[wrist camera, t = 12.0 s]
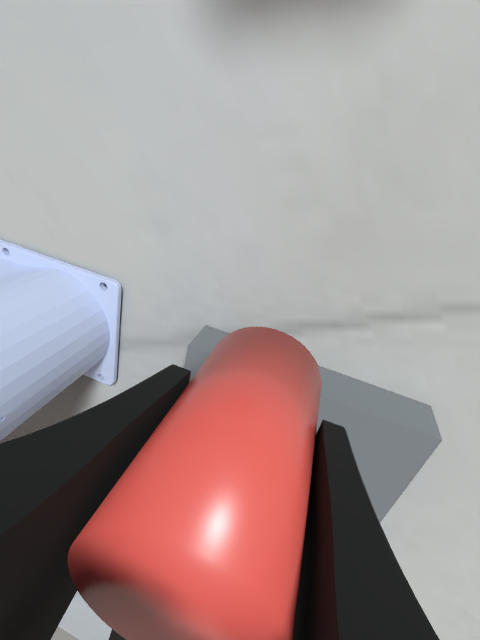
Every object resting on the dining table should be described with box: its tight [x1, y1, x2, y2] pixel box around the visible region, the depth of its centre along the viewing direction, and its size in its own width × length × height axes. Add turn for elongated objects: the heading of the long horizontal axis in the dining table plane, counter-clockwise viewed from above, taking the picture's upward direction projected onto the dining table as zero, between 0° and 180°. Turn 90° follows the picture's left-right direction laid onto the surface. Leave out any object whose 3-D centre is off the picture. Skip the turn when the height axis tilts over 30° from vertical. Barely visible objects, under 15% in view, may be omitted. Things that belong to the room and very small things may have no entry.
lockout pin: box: [68, 327, 322, 640], centre depth 9 cm, size 4×4×7 cm
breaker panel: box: [184, 326, 442, 523], centre depth 23 cm, size 13×22×3 cm, turn 166°
